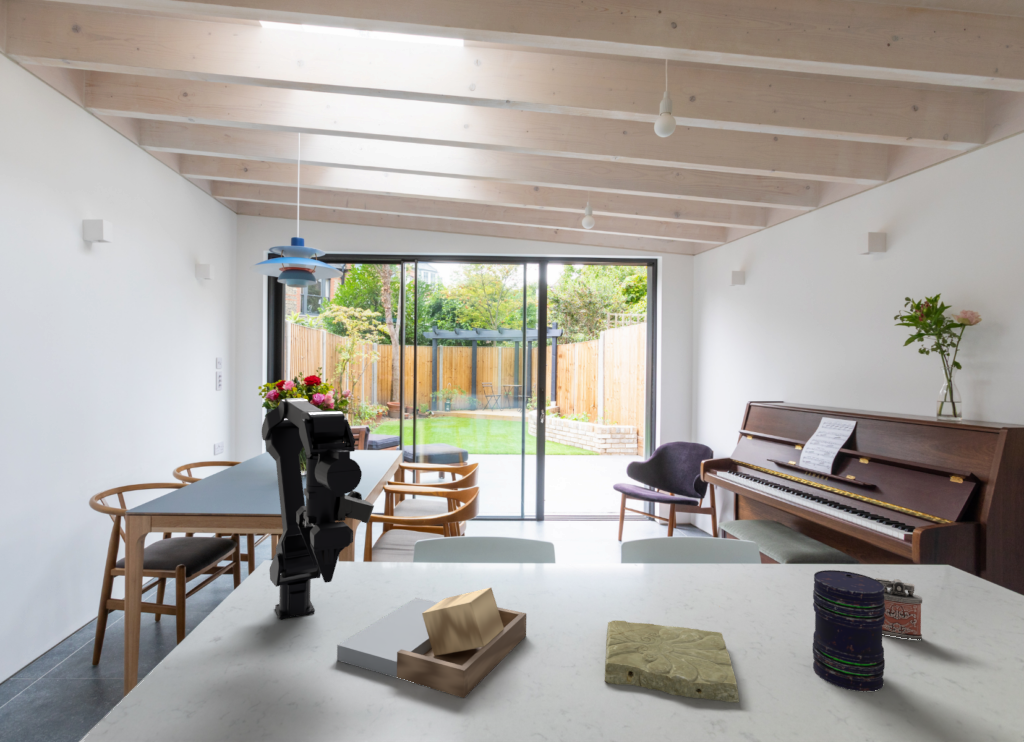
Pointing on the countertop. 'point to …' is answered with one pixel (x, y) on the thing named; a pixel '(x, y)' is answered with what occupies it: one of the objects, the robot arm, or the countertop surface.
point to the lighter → (901, 610)
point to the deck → (388, 639)
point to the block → (463, 622)
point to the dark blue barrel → (848, 630)
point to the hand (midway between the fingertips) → (322, 573)
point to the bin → (462, 660)
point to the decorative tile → (670, 660)
